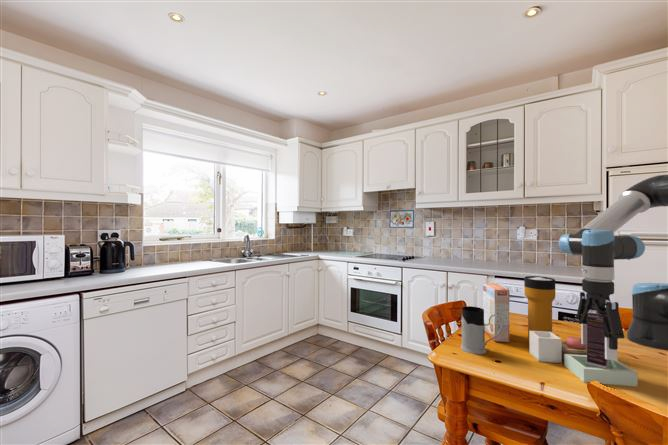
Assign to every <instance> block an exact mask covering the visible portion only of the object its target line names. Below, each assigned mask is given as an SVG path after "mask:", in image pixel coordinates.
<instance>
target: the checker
mask: <svg viewBox="0 0 668 445" xmlns="http://www.w3.org/2000/svg"><path fill="white" fill-rule="evenodd" d="M561 342H562V364H564V354H574V355H587V345H585V349H584V350H578V349H572V348H569V347H567V346H566V341H565V340H564V341H563V340H561Z"/></svg>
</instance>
